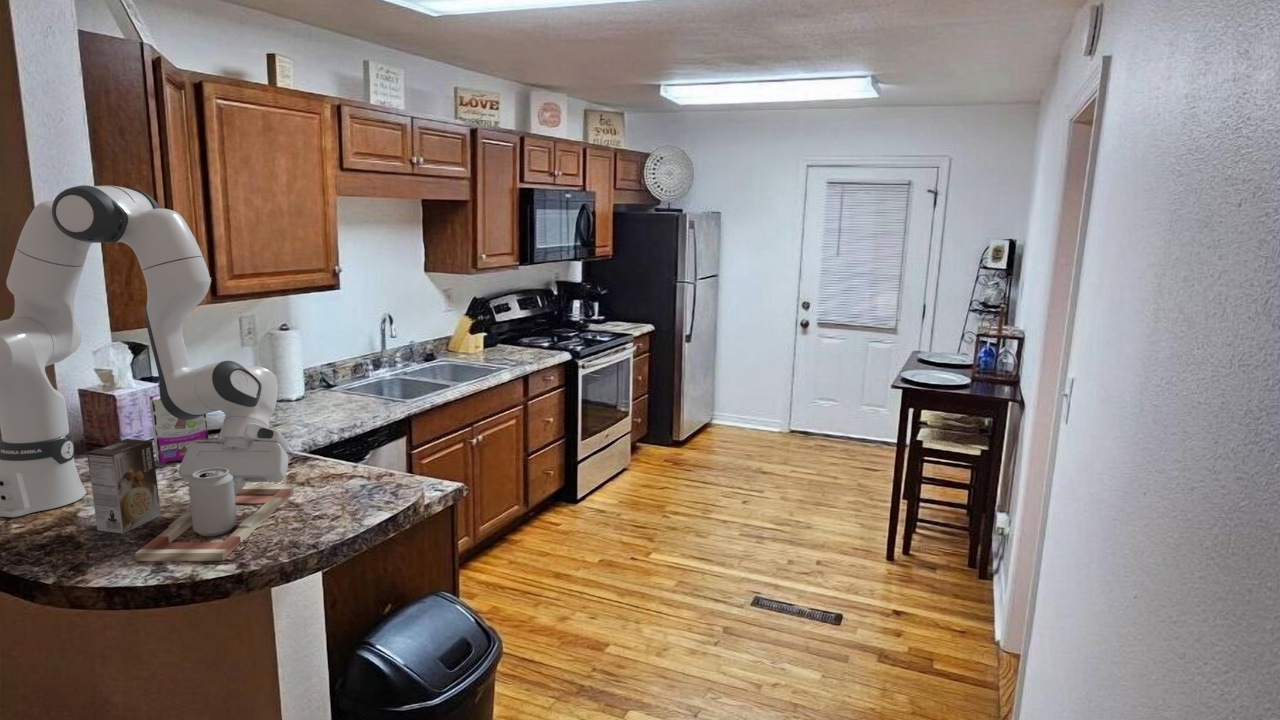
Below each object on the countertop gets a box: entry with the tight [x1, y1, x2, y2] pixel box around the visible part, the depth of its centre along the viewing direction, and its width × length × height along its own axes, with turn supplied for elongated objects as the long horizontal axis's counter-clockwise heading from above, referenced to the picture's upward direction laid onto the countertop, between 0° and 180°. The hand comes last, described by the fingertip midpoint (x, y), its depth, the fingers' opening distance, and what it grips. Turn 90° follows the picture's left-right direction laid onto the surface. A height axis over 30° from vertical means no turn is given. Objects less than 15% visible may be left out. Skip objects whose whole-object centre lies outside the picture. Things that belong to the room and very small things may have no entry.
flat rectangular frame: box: [134, 486, 295, 562], centre depth 153 cm, size 15×33×2 cm, turn 4°
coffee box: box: [86, 438, 162, 534], centre depth 150 cm, size 9×6×16 cm
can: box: [188, 467, 238, 537], centre depth 148 cm, size 8×8×12 cm
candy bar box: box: [148, 394, 209, 465], centre depth 188 cm, size 11×5×16 cm, turn 131°
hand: (224, 500), depth 153 cm, fingers closed, pressing on can
